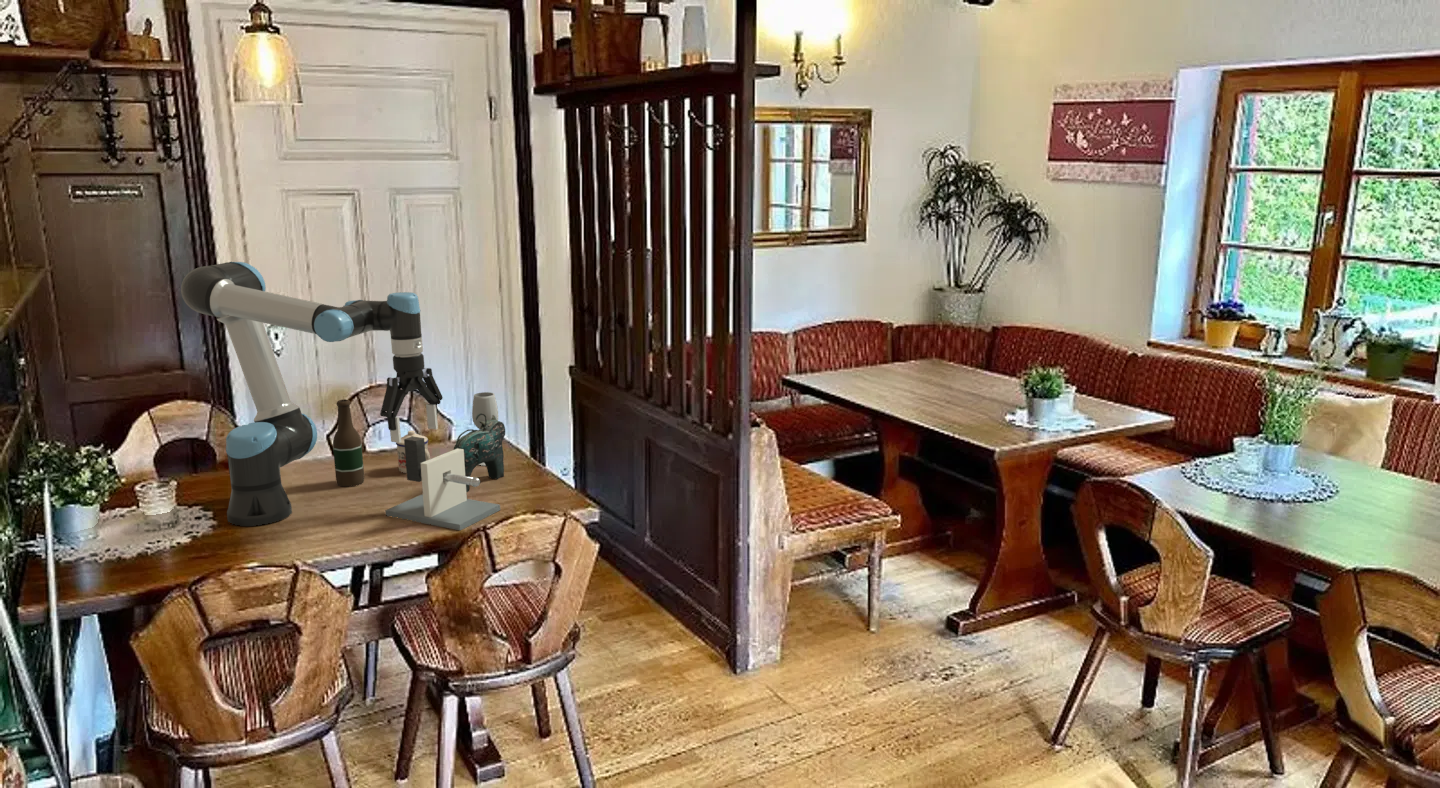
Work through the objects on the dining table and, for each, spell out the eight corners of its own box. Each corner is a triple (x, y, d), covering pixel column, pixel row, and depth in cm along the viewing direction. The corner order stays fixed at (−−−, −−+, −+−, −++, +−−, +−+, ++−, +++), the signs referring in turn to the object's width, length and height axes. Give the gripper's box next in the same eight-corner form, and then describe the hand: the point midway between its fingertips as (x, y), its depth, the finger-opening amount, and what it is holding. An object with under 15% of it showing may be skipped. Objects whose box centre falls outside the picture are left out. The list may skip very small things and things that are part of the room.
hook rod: (475, 491, 253) (473, 449, 251) (407, 479, 263) (404, 439, 260) (483, 488, 256) (480, 446, 253) (415, 476, 265) (412, 436, 263)
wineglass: (493, 457, 309) (489, 390, 304) (505, 462, 303) (501, 394, 298) (470, 461, 304) (466, 394, 299) (482, 467, 299) (478, 398, 294)
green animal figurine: (496, 472, 294) (492, 406, 290) (513, 476, 291) (509, 408, 287) (447, 492, 277) (443, 422, 273) (465, 496, 274) (461, 425, 270)
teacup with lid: (391, 470, 297) (388, 432, 294) (417, 462, 304) (414, 425, 301) (416, 478, 289) (413, 439, 287) (442, 470, 296) (440, 432, 294)
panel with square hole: (460, 530, 250) (456, 470, 246) (385, 515, 260) (380, 458, 256) (500, 510, 264) (497, 453, 260) (428, 497, 274) (424, 442, 270)
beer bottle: (356, 488, 281) (349, 404, 275) (330, 486, 282) (322, 403, 277) (370, 479, 288) (363, 397, 283) (345, 477, 290) (337, 396, 284)
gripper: (383, 364, 243) (391, 449, 248) (452, 346, 265) (458, 424, 270) (360, 362, 246) (368, 446, 251) (430, 344, 268) (436, 421, 273)
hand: (415, 435), depth 260 cm, fingers open, 13 cm apart
